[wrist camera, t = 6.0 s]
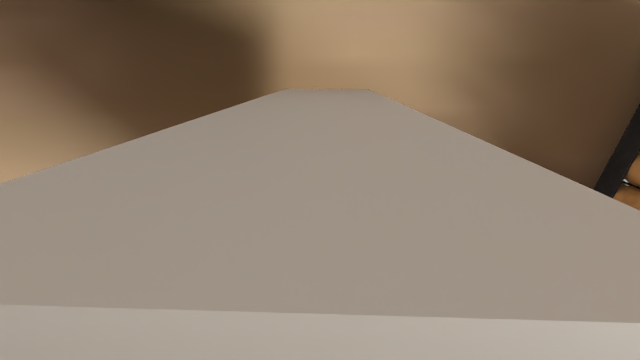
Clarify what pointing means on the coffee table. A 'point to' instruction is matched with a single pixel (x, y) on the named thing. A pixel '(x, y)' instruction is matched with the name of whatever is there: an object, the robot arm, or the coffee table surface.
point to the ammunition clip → (624, 168)
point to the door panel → (314, 245)
